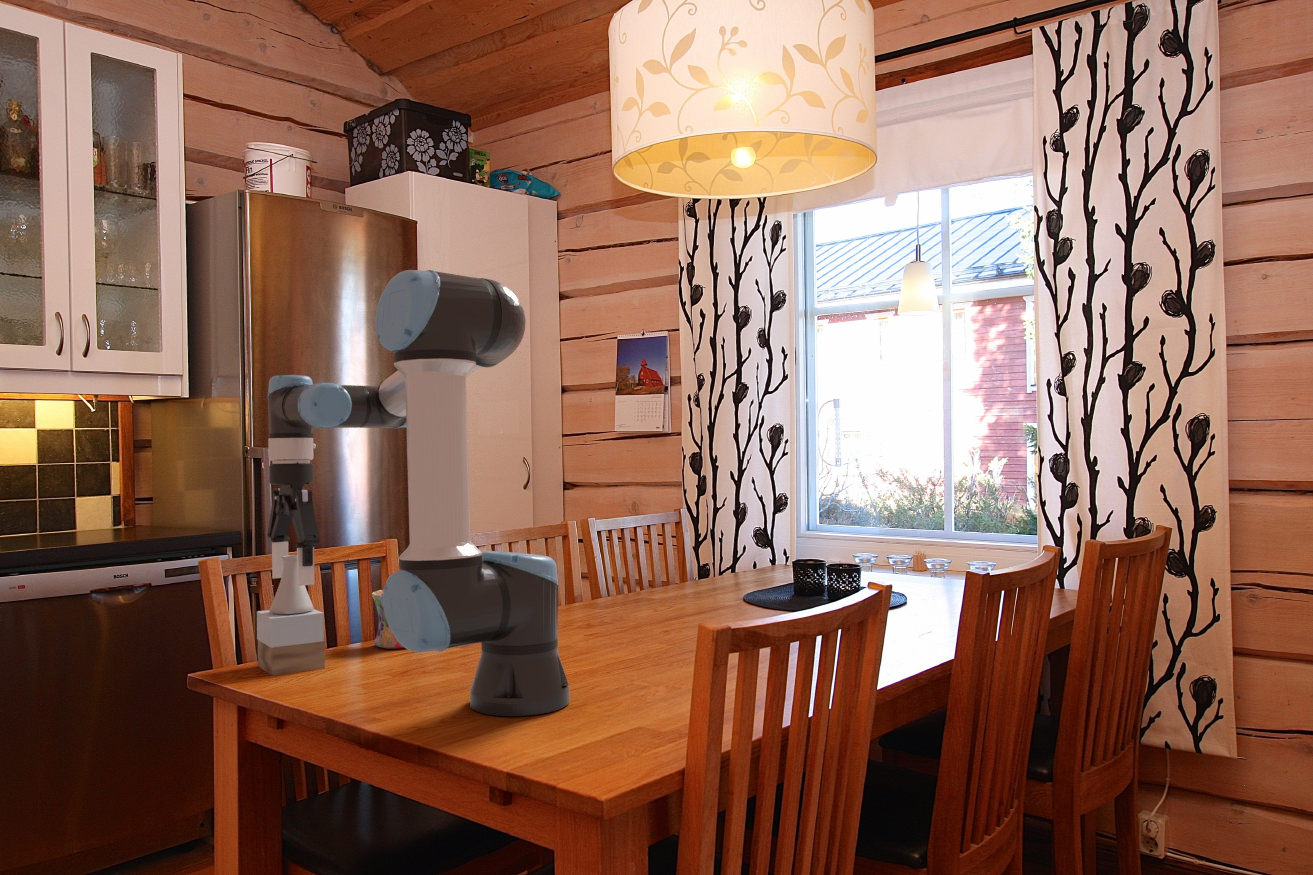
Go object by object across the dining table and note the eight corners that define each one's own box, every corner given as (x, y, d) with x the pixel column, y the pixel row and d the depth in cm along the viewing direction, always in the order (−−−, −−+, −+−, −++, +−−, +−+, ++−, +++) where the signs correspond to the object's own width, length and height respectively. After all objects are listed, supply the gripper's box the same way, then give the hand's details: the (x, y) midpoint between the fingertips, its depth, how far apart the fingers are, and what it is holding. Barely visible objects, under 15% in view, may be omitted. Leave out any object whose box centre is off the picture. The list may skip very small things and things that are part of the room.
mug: (392, 653, 186) (391, 597, 186) (361, 647, 191) (361, 592, 191) (441, 642, 195) (441, 589, 195) (411, 636, 201) (410, 585, 201)
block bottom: (324, 668, 174) (324, 640, 174) (272, 676, 169) (272, 647, 169) (308, 659, 181) (308, 632, 181) (257, 666, 176) (257, 639, 176)
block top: (323, 641, 174) (323, 612, 174) (271, 647, 169) (270, 618, 169) (307, 633, 181) (307, 606, 181) (257, 639, 176) (256, 611, 176)
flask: (321, 610, 176) (321, 555, 176) (286, 616, 170) (285, 559, 170) (297, 606, 180) (297, 552, 180) (261, 612, 174) (261, 556, 174)
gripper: (337, 461, 168) (339, 586, 168) (289, 461, 187) (291, 572, 187) (293, 462, 163) (295, 590, 163) (248, 462, 183) (250, 576, 182)
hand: (292, 581), depth 175 cm, fingers open, 13 cm apart
